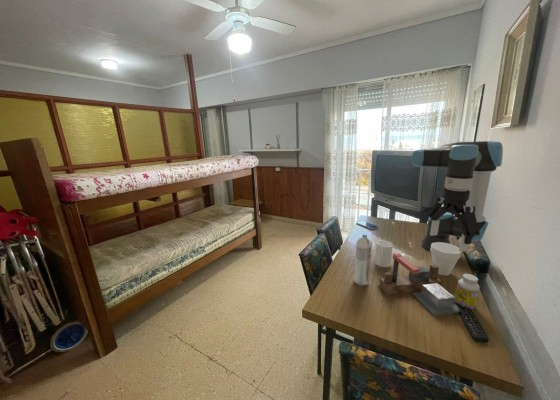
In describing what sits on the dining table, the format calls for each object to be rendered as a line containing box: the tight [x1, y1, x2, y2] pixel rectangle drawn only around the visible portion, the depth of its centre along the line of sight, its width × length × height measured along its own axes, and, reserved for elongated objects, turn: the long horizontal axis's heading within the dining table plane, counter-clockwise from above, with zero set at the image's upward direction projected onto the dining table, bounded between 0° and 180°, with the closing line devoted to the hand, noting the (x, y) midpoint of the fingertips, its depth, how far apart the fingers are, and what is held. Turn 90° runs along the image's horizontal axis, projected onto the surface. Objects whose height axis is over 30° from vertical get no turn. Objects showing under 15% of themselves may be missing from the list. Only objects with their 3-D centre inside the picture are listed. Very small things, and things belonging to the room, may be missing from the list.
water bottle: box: [353, 233, 373, 287], centre depth 103 cm, size 7×7×25 cm
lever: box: [392, 252, 419, 274], centre depth 92 cm, size 13×3×2 cm, turn 8°
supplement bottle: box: [454, 273, 480, 310], centre depth 89 cm, size 7×7×13 cm
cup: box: [429, 242, 462, 276], centre depth 111 cm, size 12×12×14 cm
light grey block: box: [420, 283, 456, 310], centre depth 91 cm, size 7×9×5 cm
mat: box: [412, 291, 460, 316], centre depth 91 cm, size 12×12×1 cm
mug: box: [374, 239, 394, 268], centre depth 119 cm, size 12×8×12 cm
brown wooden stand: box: [379, 259, 442, 295], centre depth 100 cm, size 26×6×15 cm, turn 96°
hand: (447, 242), depth 84 cm, fingers open, 13 cm apart
